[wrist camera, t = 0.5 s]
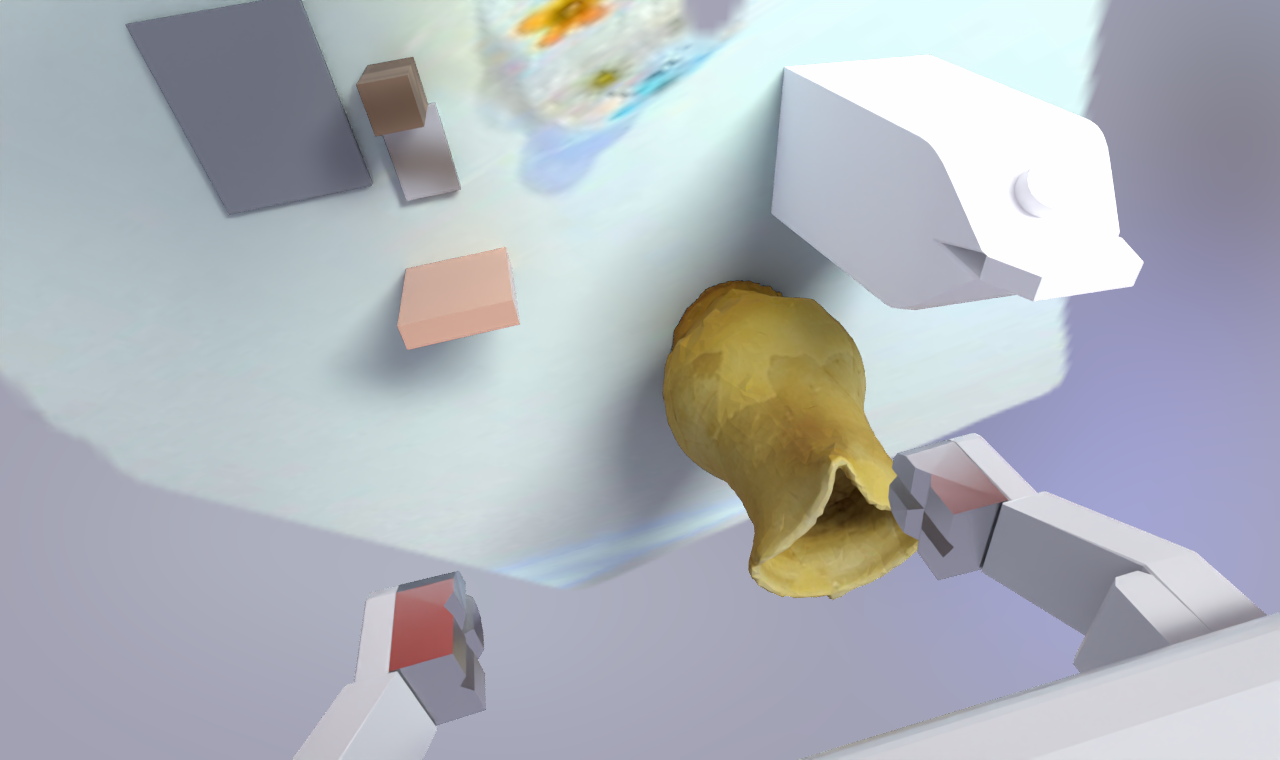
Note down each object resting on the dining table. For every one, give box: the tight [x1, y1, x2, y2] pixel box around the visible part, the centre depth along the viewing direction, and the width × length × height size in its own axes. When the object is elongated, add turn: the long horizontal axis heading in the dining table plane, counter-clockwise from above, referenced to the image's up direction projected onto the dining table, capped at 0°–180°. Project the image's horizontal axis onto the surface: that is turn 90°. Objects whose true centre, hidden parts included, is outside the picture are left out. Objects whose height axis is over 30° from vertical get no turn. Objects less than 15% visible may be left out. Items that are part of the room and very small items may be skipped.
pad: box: [126, 0, 373, 215], centre depth 43 cm, size 12×10×1 cm
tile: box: [397, 247, 520, 350], centre depth 49 cm, size 2×8×9 cm, turn 99°
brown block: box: [356, 57, 461, 201], centre depth 43 cm, size 9×4×6 cm, turn 9°
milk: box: [771, 55, 1144, 310], centre depth 43 cm, size 12×12×26 cm
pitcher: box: [663, 281, 918, 600], centre depth 53 cm, size 17×19×25 cm
